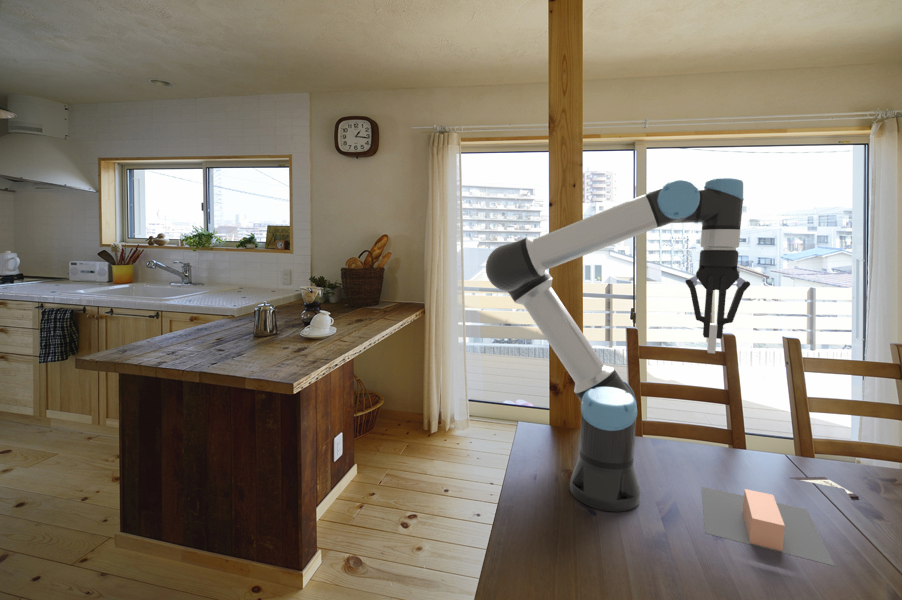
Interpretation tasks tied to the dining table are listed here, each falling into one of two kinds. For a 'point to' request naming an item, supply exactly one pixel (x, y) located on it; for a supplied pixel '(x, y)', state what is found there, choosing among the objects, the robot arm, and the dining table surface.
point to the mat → (729, 523)
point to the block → (763, 520)
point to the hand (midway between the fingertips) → (711, 351)
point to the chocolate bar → (825, 483)
